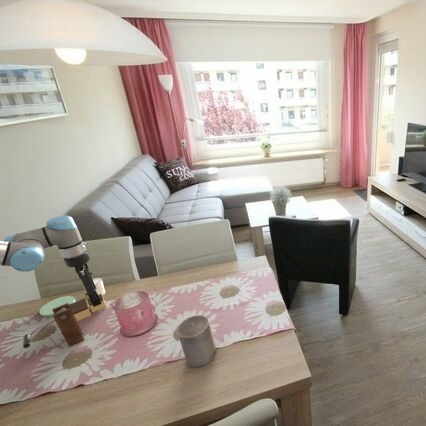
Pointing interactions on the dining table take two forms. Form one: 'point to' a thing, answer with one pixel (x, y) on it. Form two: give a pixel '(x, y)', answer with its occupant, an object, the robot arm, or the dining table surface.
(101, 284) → the white ribbed ramekin
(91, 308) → the cake slice
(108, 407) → the dining table surface
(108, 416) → the dining table surface
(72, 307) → the cake
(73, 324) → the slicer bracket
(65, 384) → the dining table surface
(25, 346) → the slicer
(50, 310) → the plate
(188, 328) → the pillar candle
